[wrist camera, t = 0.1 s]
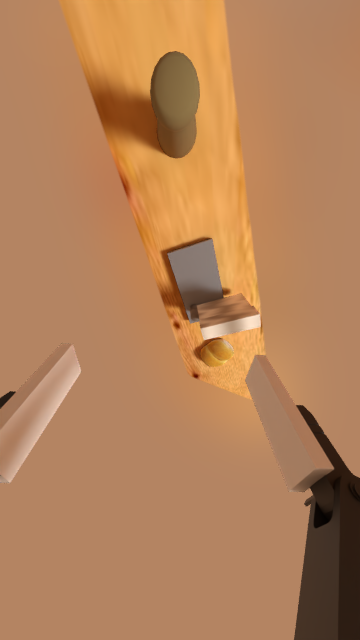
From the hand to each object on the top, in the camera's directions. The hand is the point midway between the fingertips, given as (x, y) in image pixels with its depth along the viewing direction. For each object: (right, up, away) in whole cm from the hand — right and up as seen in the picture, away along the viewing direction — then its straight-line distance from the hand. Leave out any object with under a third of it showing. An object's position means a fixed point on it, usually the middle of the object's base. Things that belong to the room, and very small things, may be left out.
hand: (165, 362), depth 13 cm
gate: (+9, +7, +26) cm, 28 cm away
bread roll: (+11, -5, +36) cm, 38 cm away
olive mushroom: (+1, +32, +14) cm, 35 cm away
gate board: (+5, +11, +26) cm, 29 cm away
